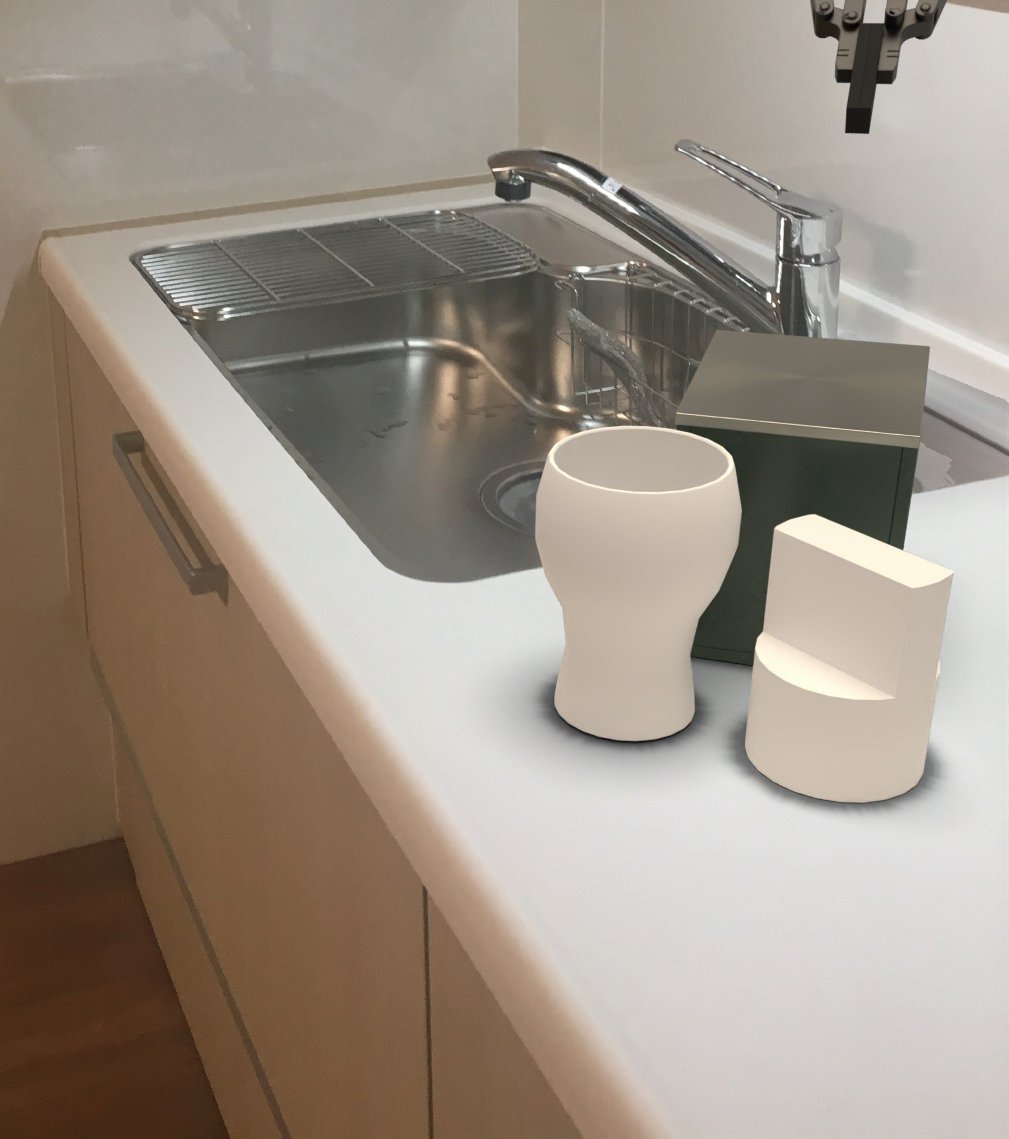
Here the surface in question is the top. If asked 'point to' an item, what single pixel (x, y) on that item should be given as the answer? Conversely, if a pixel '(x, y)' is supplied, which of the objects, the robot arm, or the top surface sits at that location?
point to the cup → (634, 570)
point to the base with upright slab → (845, 663)
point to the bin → (796, 516)
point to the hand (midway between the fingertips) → (857, 121)
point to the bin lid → (809, 388)
